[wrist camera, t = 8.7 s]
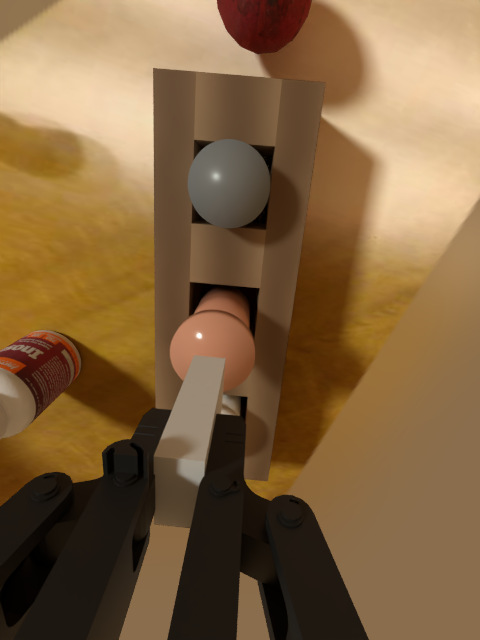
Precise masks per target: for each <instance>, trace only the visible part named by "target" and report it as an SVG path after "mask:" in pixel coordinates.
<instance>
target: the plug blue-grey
mask: <svg viewBox="0 0 480 640" xmlns="http://www.w3.org/2000/svg"><path fill="white" fill-rule="evenodd" d="M270 184H271V183H270V175H269V171H268V168H267V165H266V163H265V161H264V159H263V158H262V156H261V155H260V154H259V153H258V151H256V150H255V149H254V148H253V147H252V146H250V145H249V144H247V143H245V142H242V141H239V140H235V139H223V140H218V141H215V142H213V143H211V144H209V145H207V146H206V147H205V148H203V149H202V150H201V151H200V152H199V153H198V154H197V156H196V157H195V159H194V161H193V163H192V165H191V167H190V170H189V175H188V192H189V196H190V199H191V202H192V204H193V206H194V208H195V209H196V211H197V212H198V213H199V215H200V216H201V217H202V218H204V219H205V220H206V221H207V222H209V223H211V224H213V225H215V226H218V227H221V228H238V227H241V226H244V225H246V224H248V223H250V222H252V221H253V220H254V219H255V218H256V217H257V216H258V215H259V214H260V213H261V212H262V211H263V209H264V207H265V205H266V203H267V201H268V198H269V194H270Z"/></svg>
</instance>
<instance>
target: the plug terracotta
mask: <svg viewBox="0 0 480 640" xmlns="http://www.w3.org/2000/svg"><path fill="white" fill-rule="evenodd" d="M249 324H250V305H249V302H248V300H247V298H246V296H245V295H244V294H243V293H242V292H241V291H240V290H238V289H236V288H234V287H231V286H226V285H222V286H216V287H214V288H212V289H210V290H209V291H207V292H206V293H205V294H204V296H203V297H202V299H201V301H200V303H199V305H198V307H197V309H196V310H195V312H194V314H193V315H191V316H189V317H188V318H187V319H185V320H184V321H183V322H182V324H181V325H180V326H179V328H178V330H177V331H176V333H175V335H174V337H173V339H172V341H171V346H170V359H171V363H172V366H173V368H174V370H175V372H176V373H177V374H178V376H179V377H180V378H181V379H182V380H183V381H184V379H185V377H186V374H187V372H188V369H189V367H190V364H191V362H192V359H193V357H194V355H197V356H207V357H217V358H226V360H225V373H224V386H223V392H224V391H228V390H231V389H233V388H236V387H237V386H239V385H240V384H241V383H243V382H244V381H245V380H246V379H247V378H248V376H249V375H250V373H251V371H252V369H253V366H254V362H255V342H254V338H253V335H252V333H251V331H250V329H249Z"/></svg>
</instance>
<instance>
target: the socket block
mask: <svg viewBox="0 0 480 640" xmlns="http://www.w3.org/2000/svg"><path fill="white" fill-rule="evenodd" d="M324 89H325V82H313V81H301V80H289V79H277V78H265V77H253V76H241V75H229V74H217V73H205V72H193V71H181V70H169V69H157V68H153V97H154V245H155V393H156V408H158V409H168V410H172V409H173V407H174V404H175V402H176V399H177V397H178V394H179V392H180V389H181V387H182V384H183V382H184V381H183V380H182V379H181V378H180V377H179V376H178V374H177V373H176V372H175V370H174V368H173V366H172V363H171V359H170V346H171V341H172V339H173V337H174V335H175V333H176V331H177V330H178V328H179V326H180V325H181V324H182V322H183V321H184V320H185V319H187V318H188V317H189V316H191V315H193V314H194V312H195V310H196V309H197V307H198V305H199V303H200V301H201V285H202V283H208V284H219V285H230V286H241V287H252V288H257V296H256V306H255V316H254V324H251V323H250V324H249V329H250V331H251V333H252V335H253V338H254V342H255V362H254V366H253V369H252V371H251V373H250V375H249V376H248V378H247V379H246V380H245V381H244V382H243V383H241V384H240V385H239V386H237V387H236V388H233V389H231V390H228V391H224V392H223V394H224V395H234V396H245V397H246V402H245V406H243V405H241V410H240V416H242V418H243V420H244V421H245V423H246V443H245V463H244V479H250V480H260V481H268V476H269V469H270V462H271V455H272V448H273V442H274V435H275V428H276V421H277V414H278V407H279V400H280V393H281V386H282V379H283V372H284V366H285V359H286V352H287V345H288V338H289V331H290V324H291V317H292V310H293V303H294V296H295V290H296V283H297V276H298V269H299V262H300V255H301V248H302V241H303V234H304V227H305V220H306V214H307V207H308V200H309V193H310V186H311V179H312V172H313V165H314V158H315V151H316V145H317V138H318V131H319V124H320V117H321V110H322V103H323V96H324ZM223 139H235V140H239V141H242V142H245V143H247V144H249V145H250V146H252V147H253V148H254V149H255V150H256V151H258V153H259V154H260V155H261V156H264V157H271V161H270V171H269V175H270V183H271V184H270V194H269V198H268V201H267V203H266V209H265V219H264V223H255V222H250V223H248V224H246V225H244V226H241V227H238V228H221V227H218V226H215V225H213V224H211V223H209V222H207V221H206V220H205V219H204V218H202V217H201V216H200V215H199V213H198V212H197V211H196V209H195V208H194V206H193V204H192V202H191V199H190V196H189V192H188V175H189V170H190V167H191V165H192V163H193V161H194V159H195V157H196V156H197V154H198V153H199V152H200V151H201V150H202V149H203V148H205V147H206V146H207V145H209V144H211V143H213V142H215V141H218V140H223Z"/></svg>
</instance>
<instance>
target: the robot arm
mask: <svg viewBox="0 0 480 640" xmlns="http://www.w3.org/2000/svg"><path fill="white" fill-rule="evenodd" d="M225 360H226V358H217V357H207V356H197V355H194V357H193V359H192V362H191V364H190V367H189V369H188V372H187V374H186V377H185V379H184V382H183V384H182V387H181V389H180V392H179V394H178V397H177V399H176V402H175V404H174V407H173V409H172V410H168V409H158V408H152V409H151V410H150V411H148V412H147V413H146V414H145V415H143V417H142V419H141V421H140V423H139V425H138V427H137V429H136V431H135V433H134V434H133V436H132V438H131V439H126V440H121V441H117V442H114V443H113V444H111V445H109V446H108V447H107V448H106V449H105V450H104V451H103V452H102V458H103V471H104V475H103V477H100V478H98V479H94V480H90V481H84V482H78V483H73V482H72V480H71V478H70V476H68V475H66V474H65V473H60V472H52V473H46V474H43V475H41V476H38V477H36V478H34V479H33V480H31V481H30V482H28V483H27V484H26V485H25V486H24V487H22V488H21V489H20V490H19V491H18V492H17V493H16V494H14V495H13V496H12V497H11V498H10V499H9V500H8V501H7V502H5V503H4V504H3V505H2V506H1V507H0V640H119V636H120V633H121V630H122V627H123V624H124V621H125V617H126V614H127V611H128V608H129V604H130V601H131V598H132V595H133V592H134V588H135V585H136V582H137V579H138V575H139V572H140V569H141V566H142V563H143V560H144V556H145V553H146V550H147V547H148V544H149V537H150V525H151V522H152V519H153V516H154V524H157V525H167V526H176V527H185V528H190V533H189V538H188V542H187V548H186V552H185V557H184V562H183V566H182V571H181V576H180V581H179V586H178V591H177V596H176V601H175V605H174V610H173V615H172V620H171V625H170V630H169V634H168V639H167V640H236V636H237V635H236V634H237V617H238V615H237V614H238V596H239V578H240V572H242V573H244V574H246V575H248V576H250V577H252V578H254V579H256V580H258V586H259V591H260V595H261V600H262V605H263V609H264V614H265V618H266V623H267V627H268V632H269V637H270V640H369V639H368V637H367V634H366V632H365V630H364V627H363V625H362V623H361V621H360V618H359V616H358V614H357V611H356V609H355V607H354V605H353V602H352V600H351V598H350V595H349V594H348V591H347V589H346V586H345V584H344V582H343V579H342V577H341V575H340V572H339V570H338V568H337V566H336V563H335V561H334V559H333V557H332V554H331V552H330V549H329V547H328V545H327V543H326V540H325V538H324V536H323V534H322V531H321V529H320V527H319V524H318V522H317V520H316V517H315V515H314V513H313V511H312V510H311V508H310V507H309V505H308V504H307V503H305V502H304V501H303V500H302V499H300V498H297V497H295V496H293V495H281V496H277V497H275V498H274V499H273V500H272V501H269V500H267V499H264V498H262V497H260V496H258V495H256V494H255V493H254V492H252V491H251V490H250V489H249V487H248V486H247V485H246V482H245V480H244V463H245V443H246V423H245V421H244V420H243V418H242V416H237V415H227V414H221V410H222V400H223V386H224V373H225Z"/></svg>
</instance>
